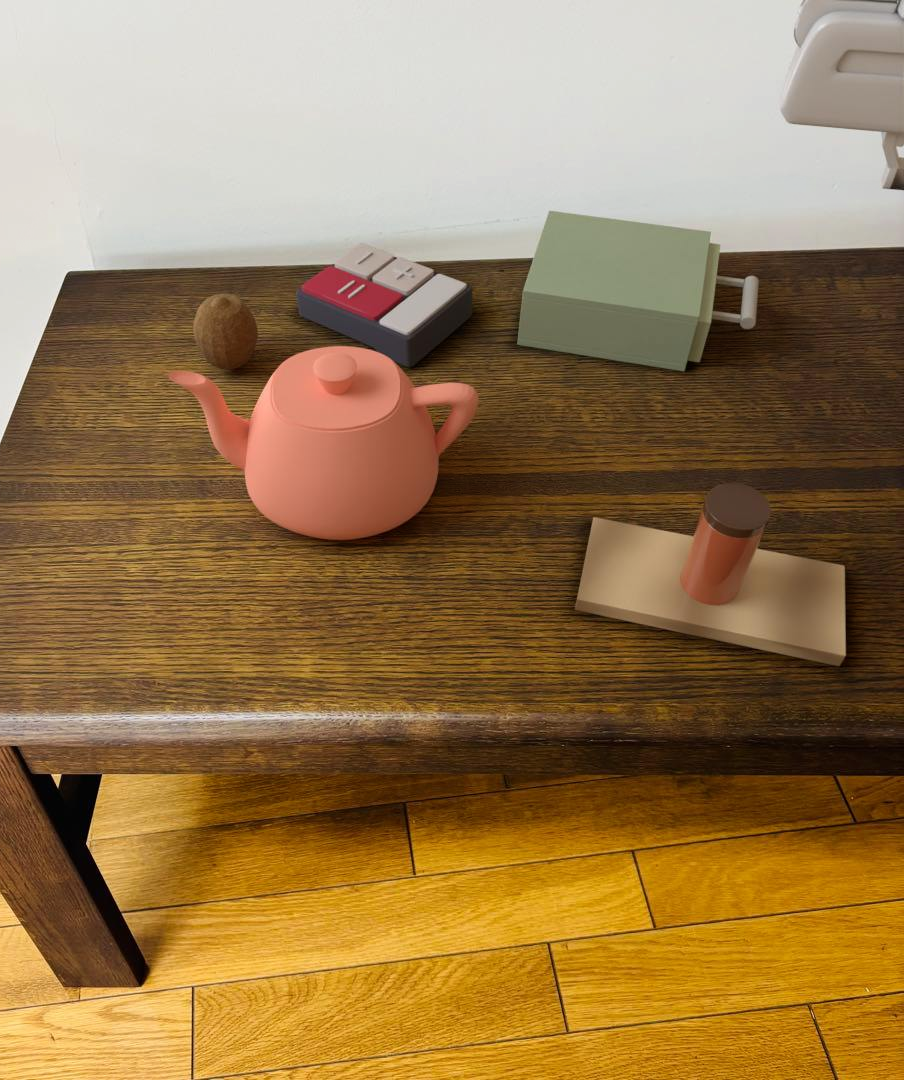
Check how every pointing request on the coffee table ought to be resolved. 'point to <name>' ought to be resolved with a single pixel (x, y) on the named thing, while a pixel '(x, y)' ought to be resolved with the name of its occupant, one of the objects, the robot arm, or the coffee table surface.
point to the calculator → (386, 303)
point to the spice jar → (724, 543)
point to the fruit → (225, 331)
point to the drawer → (706, 313)
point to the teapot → (337, 441)
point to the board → (748, 620)
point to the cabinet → (615, 290)
